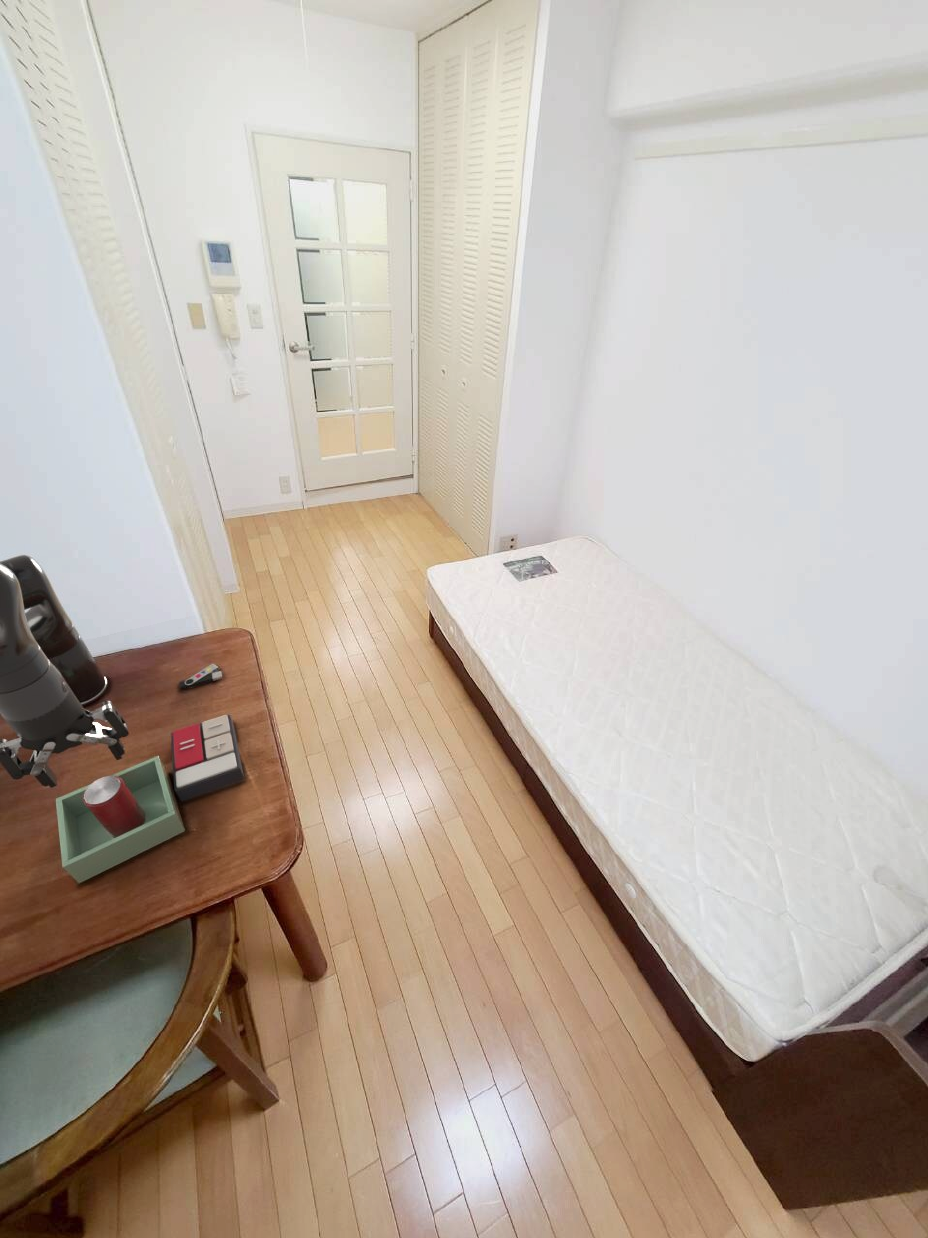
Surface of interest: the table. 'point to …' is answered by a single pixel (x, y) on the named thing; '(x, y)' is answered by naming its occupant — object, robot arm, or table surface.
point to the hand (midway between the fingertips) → (87, 768)
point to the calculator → (205, 757)
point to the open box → (97, 851)
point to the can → (113, 805)
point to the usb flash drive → (202, 677)
